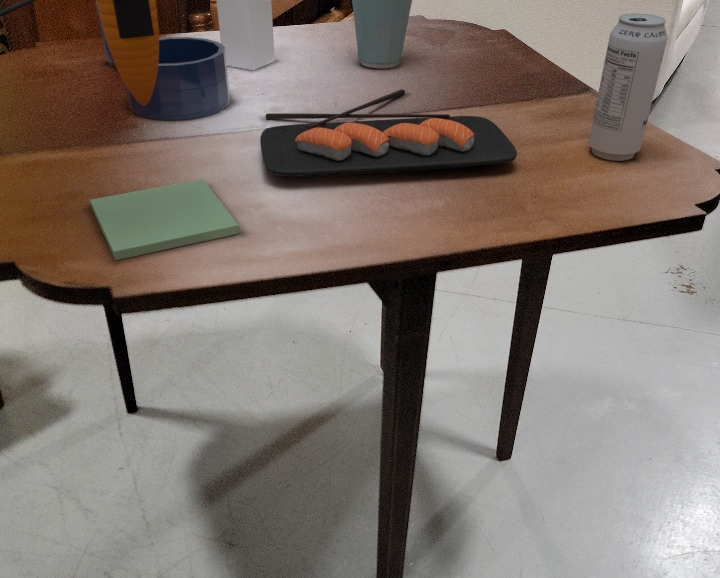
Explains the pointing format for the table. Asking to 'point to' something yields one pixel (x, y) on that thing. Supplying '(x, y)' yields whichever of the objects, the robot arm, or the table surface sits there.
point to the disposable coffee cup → (380, 31)
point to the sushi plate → (381, 143)
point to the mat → (162, 218)
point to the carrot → (132, 52)
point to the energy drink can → (627, 85)
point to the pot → (187, 80)
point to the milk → (246, 32)
